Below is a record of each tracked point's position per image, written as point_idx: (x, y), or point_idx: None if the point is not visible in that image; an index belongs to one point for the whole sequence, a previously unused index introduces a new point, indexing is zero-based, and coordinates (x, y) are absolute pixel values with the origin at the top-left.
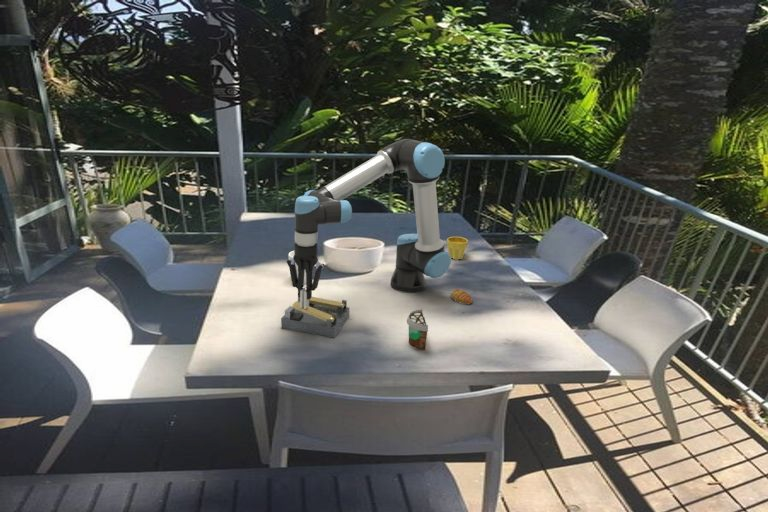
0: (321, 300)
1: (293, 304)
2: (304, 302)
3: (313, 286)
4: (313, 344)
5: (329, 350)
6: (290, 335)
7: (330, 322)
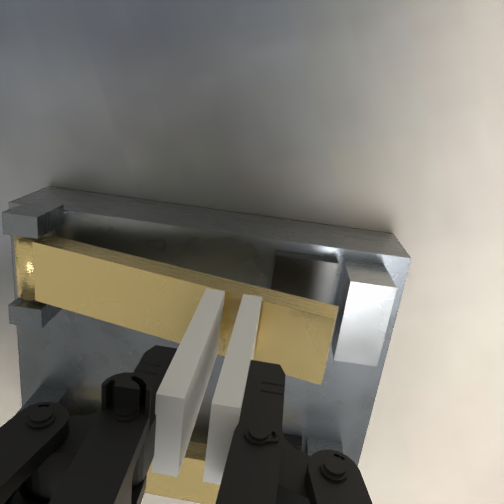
0: (180, 478)
1: (328, 324)
2: (209, 318)
3: (8, 450)
4: (140, 80)
5: (21, 29)
6: (314, 159)
7: (15, 210)
